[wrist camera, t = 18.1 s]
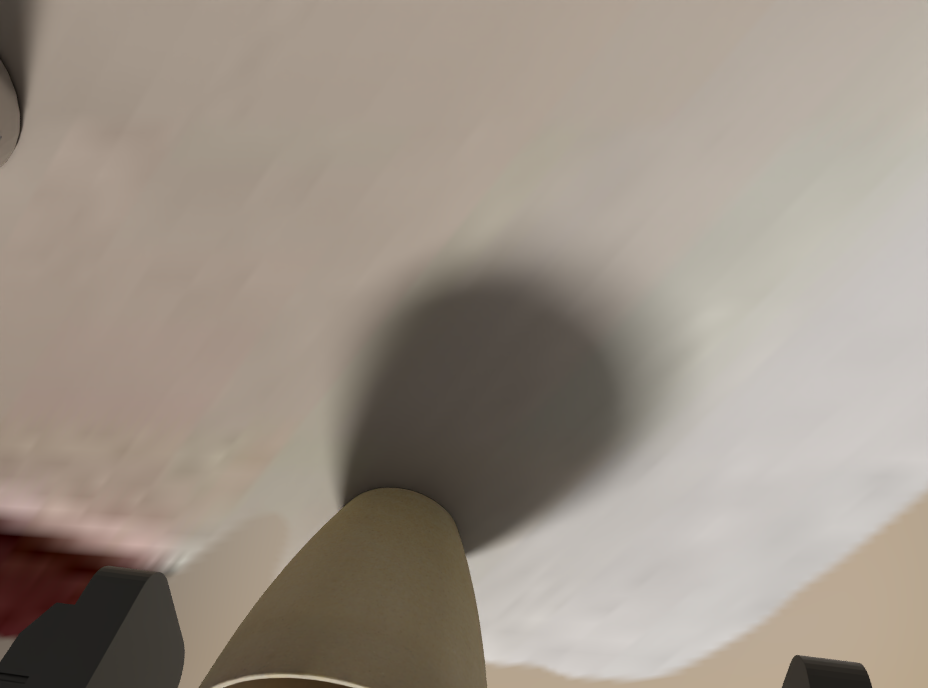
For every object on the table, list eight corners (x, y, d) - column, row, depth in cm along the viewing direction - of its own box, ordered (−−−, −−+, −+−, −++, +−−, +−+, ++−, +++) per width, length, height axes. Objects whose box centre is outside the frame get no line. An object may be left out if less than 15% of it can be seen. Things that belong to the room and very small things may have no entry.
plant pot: (568, 568, 54) (551, 832, 41) (380, 633, 60) (313, 880, 47) (425, 396, 48) (352, 640, 35) (233, 489, 54) (110, 725, 41)
